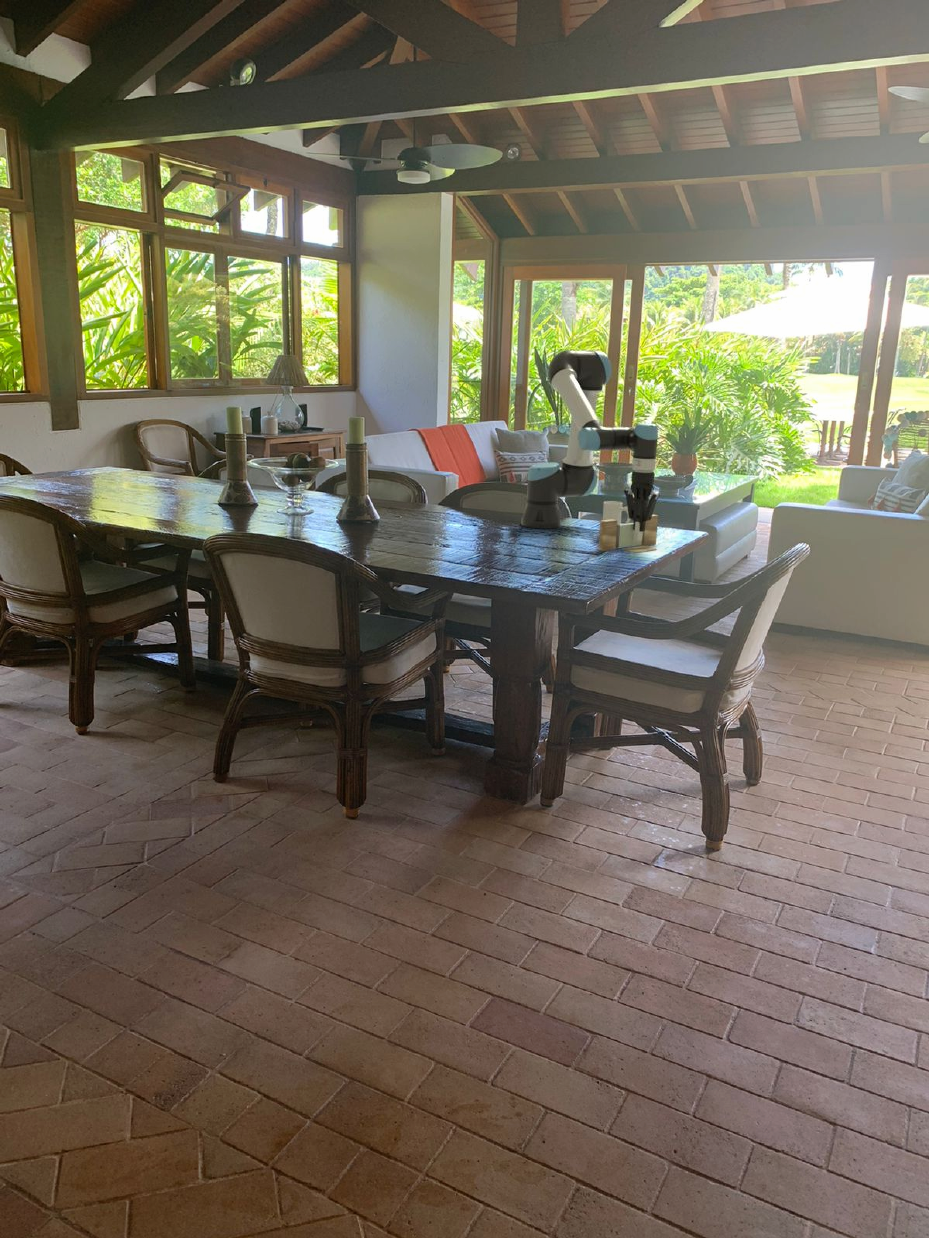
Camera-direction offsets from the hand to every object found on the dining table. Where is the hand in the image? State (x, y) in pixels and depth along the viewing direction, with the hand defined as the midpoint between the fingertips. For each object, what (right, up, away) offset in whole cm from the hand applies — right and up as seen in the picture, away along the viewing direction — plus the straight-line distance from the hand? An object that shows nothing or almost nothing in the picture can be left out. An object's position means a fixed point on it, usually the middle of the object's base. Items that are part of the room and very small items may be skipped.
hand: (638, 540), depth 317 cm
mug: (-4, +3, +22) cm, 22 cm away
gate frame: (-1, -3, 0) cm, 3 cm away
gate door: (-3, -2, +2) cm, 4 cm away
